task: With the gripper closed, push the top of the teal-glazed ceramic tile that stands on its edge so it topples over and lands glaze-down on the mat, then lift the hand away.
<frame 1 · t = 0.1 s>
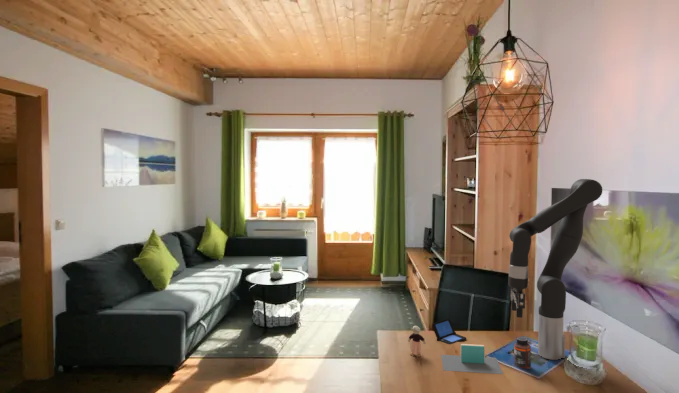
hand: (516, 313, 175), 17 cm above the table, tool pointing down, fingers open, 8 cm apart
mat: (470, 365, 166), on the table
grandmother figurine: (416, 355, 176), on the table
handheld game console: (449, 340, 192), on the table
supplement bottle: (522, 367, 164), on the table
tile: (472, 362, 167), point 1 cm above the table, touching mat
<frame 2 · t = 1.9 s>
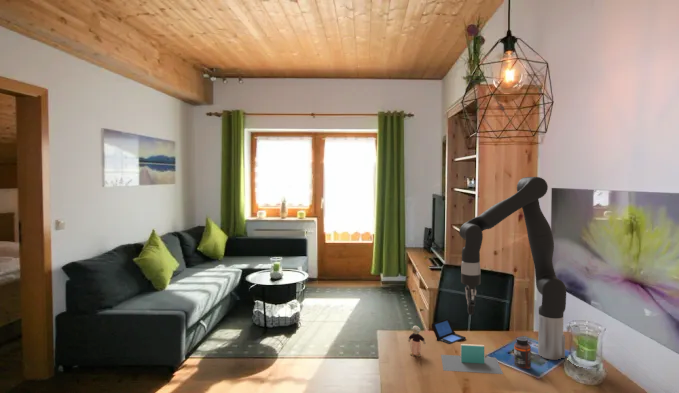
hand: (470, 313, 171), 19 cm above the table, tool pointing down, fingers closed
nothing on the table moved.
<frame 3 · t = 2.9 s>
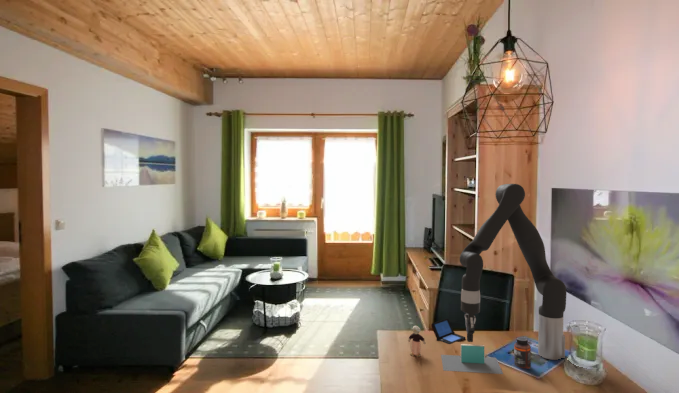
hand: (469, 341, 172), 7 cm above the table, tool pointing down, fingers closed
nothing on the table moved.
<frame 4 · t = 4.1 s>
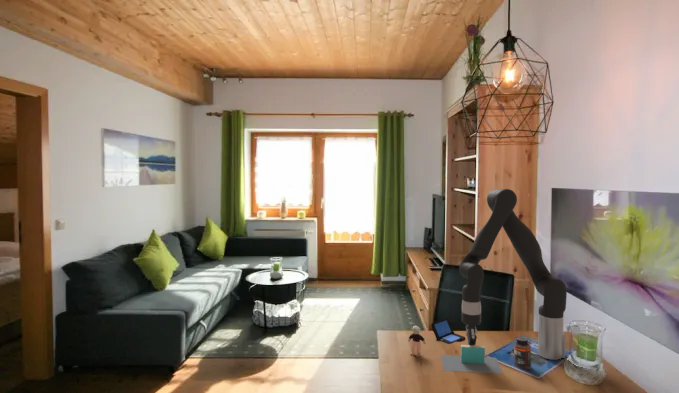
hand: (471, 352, 169), 4 cm above the table, tool pointing down, fingers closed
tile: (472, 362, 167), point 1 cm above the table, tilted 9°, touching mat
everything else where it was.
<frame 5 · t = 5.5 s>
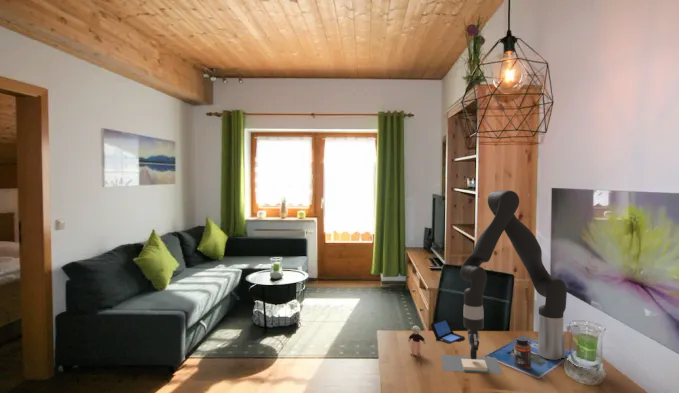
hand: (473, 358, 164), 4 cm above the table, tool pointing down, fingers closed
tile: (472, 361, 166), point 2 cm above the table, tilted 90°, touching mat
everything else where it was.
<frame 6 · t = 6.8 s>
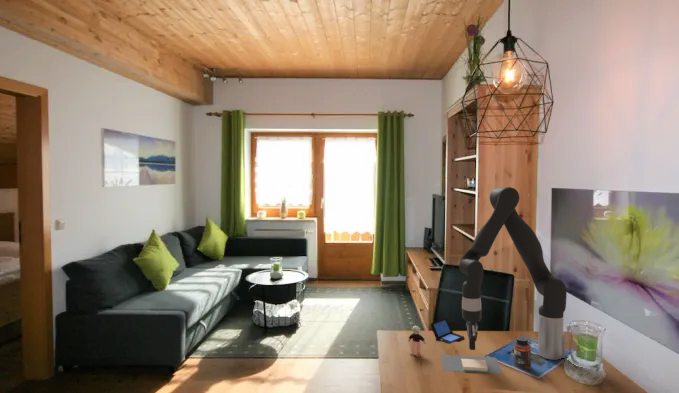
hand: (472, 349, 170), 5 cm above the table, tool pointing down, fingers closed
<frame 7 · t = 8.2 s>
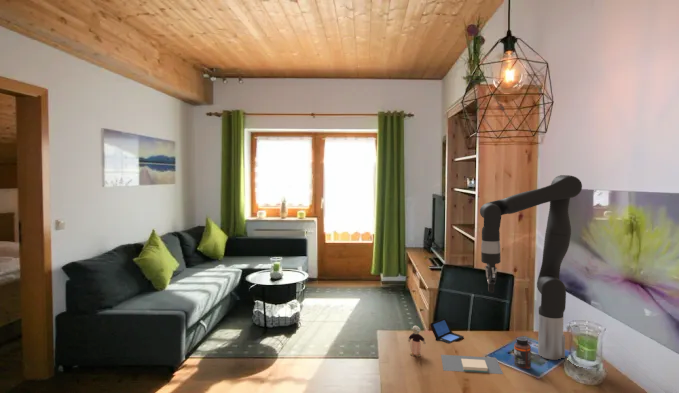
hand: (491, 292, 174), 27 cm above the table, tool pointing down, fingers closed
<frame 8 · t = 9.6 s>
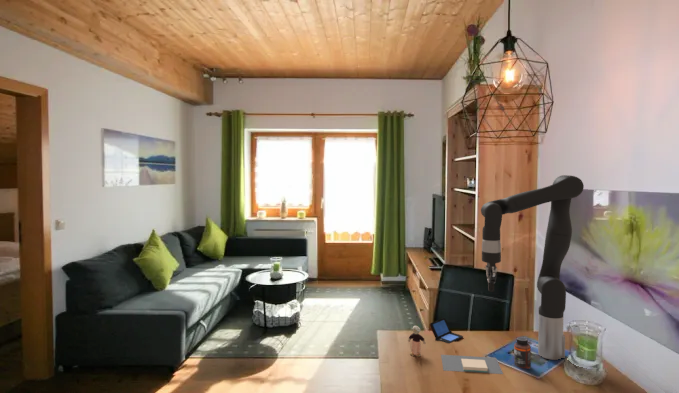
hand: (491, 291, 174), 27 cm above the table, tool pointing down, fingers closed
at the end: tile tilted 90°; tile inside the target area (2.4 cm from its centre), point 1.6 cm above the table; the gripper is holding nothing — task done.
